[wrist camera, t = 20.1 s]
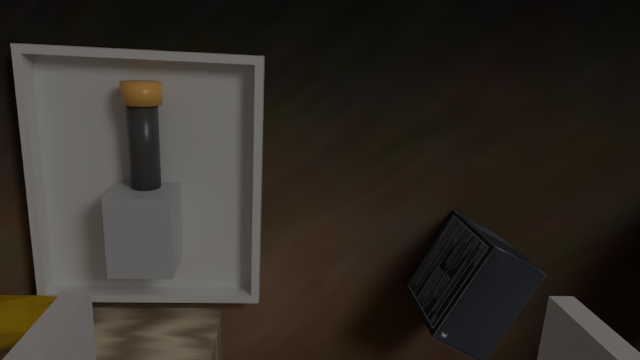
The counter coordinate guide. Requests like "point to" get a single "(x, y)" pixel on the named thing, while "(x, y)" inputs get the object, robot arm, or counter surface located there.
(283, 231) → the counter surface
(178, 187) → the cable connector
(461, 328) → the small box
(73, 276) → the tray
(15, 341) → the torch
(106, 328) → the stand
